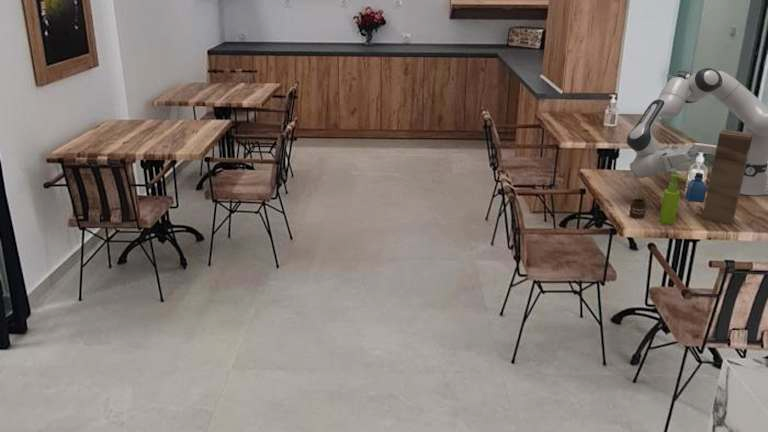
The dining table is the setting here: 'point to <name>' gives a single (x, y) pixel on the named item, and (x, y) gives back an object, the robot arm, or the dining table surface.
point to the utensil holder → (638, 207)
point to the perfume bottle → (696, 189)
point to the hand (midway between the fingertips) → (703, 147)
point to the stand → (727, 176)
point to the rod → (707, 148)
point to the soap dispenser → (670, 201)
